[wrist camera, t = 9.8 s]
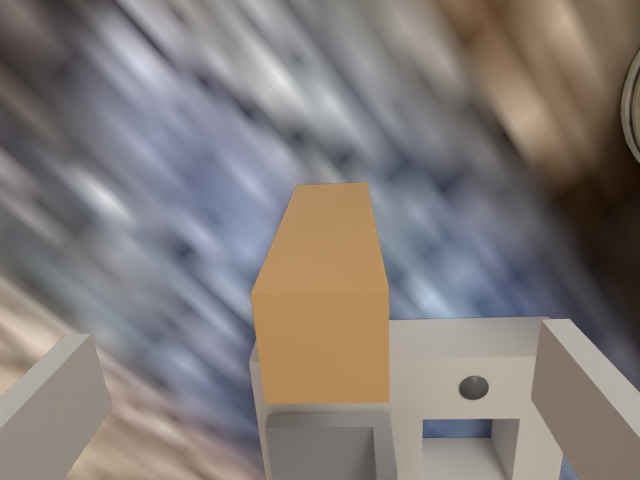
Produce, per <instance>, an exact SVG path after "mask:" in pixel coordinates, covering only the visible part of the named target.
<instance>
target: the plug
mask: <svg viewBox="0 0 640 480" xmlns="http://www.w3.org/2000/svg"><path fill="white" fill-rule="evenodd" d="M250 295H251V302H252V310H253V317H254V325H255V332H256V340H257V347H258V355H259V362H260V370H261V377H262V385H263V392H264V400H265V404H308V403H390V391H389V288H388V283H387V278H386V273H385V268H384V263H383V259H382V254H381V249H380V244H379V239H378V234H377V229H376V224H375V219H374V215H373V210H372V205H371V200H370V195H369V190H368V185H367V182H359V183H338V184H317V185H296V187H295V190H294V192H293V195H292V197H291V199H290V202H289V204H288V206H287V209H286V211H285V214H284V216H283V218H282V221H281V223H280V225H279V228H278V230H277V233H276V235H275V237H274V240H273V242H272V245H271V247H270V249H269V252H268V254H267V256H266V259H265V261H264V264H263V266H262V268H261V271H260V273H259V275H258V278H257V280H256V283H255V285H254V287H253V290H252V292H251V294H250Z"/></svg>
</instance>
